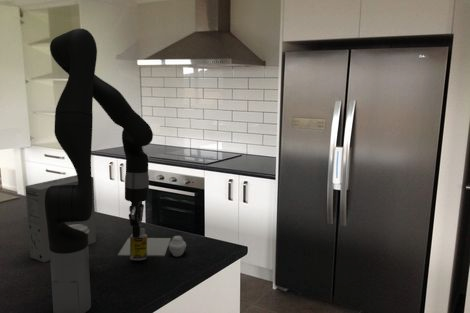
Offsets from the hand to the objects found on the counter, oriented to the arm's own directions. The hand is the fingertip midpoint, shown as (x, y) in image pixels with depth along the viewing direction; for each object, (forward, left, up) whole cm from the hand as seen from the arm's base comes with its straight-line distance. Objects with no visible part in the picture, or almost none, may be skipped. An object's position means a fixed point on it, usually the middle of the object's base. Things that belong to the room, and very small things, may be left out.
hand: (136, 236), depth 136 cm
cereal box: (+10, +28, -9) cm, 31 cm away
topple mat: (+13, 0, -9) cm, 16 cm away
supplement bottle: (+1, 0, -9) cm, 9 cm away
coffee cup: (-9, +17, -9) cm, 21 cm away
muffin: (+7, -13, -9) cm, 17 cm away
